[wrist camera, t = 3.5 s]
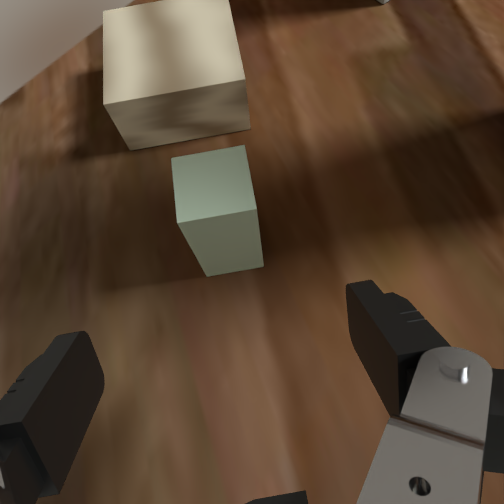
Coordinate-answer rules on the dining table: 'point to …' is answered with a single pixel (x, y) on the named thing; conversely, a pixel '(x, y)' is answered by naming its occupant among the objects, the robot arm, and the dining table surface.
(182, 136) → the maple block
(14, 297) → the dining table surface
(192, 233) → the sage block
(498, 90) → the dining table surface
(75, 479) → the dining table surface
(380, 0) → the coffee box
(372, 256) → the dining table surface
